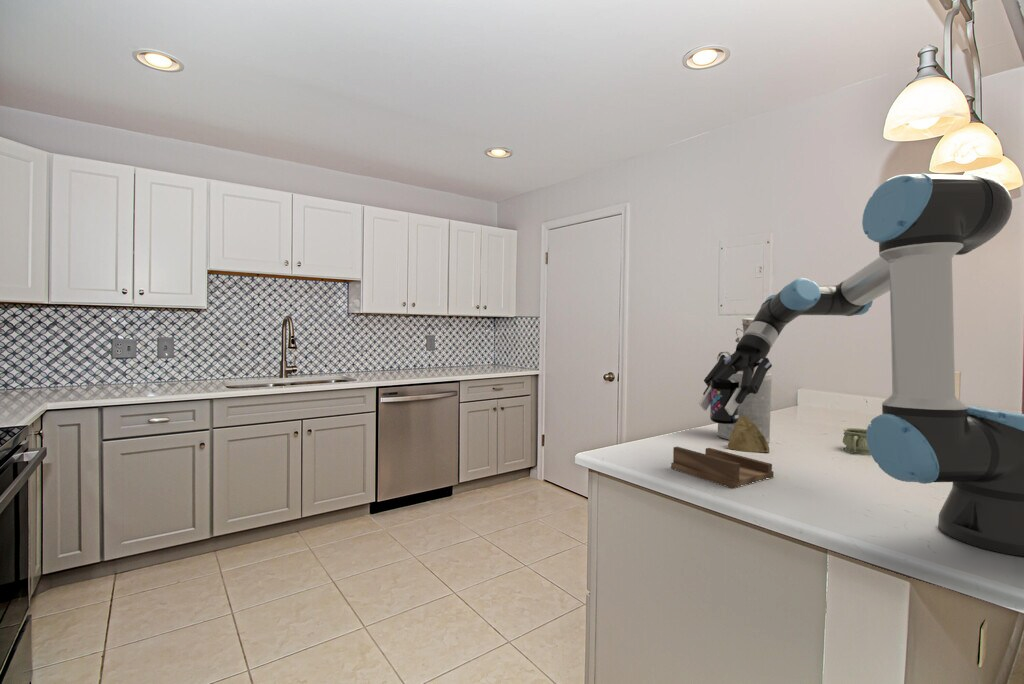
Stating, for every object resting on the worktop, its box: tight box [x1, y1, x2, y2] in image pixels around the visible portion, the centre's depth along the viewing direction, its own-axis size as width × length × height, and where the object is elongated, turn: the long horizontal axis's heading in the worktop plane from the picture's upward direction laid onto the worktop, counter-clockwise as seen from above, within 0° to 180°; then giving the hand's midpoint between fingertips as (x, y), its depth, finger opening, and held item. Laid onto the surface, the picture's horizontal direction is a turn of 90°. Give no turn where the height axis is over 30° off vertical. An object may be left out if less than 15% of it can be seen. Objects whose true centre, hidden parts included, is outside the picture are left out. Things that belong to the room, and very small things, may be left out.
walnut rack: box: [670, 446, 775, 489], centre depth 126 cm, size 16×18×6 cm
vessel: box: [842, 427, 871, 456], centre depth 148 cm, size 12×9×6 cm
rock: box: [726, 416, 771, 453], centre depth 148 cm, size 11×9×10 cm
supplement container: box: [709, 379, 740, 424], centre depth 126 cm, size 7×7×10 cm
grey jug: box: [716, 317, 773, 444], centre depth 162 cm, size 13×17×40 cm
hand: (715, 409), depth 124 cm, fingers closed on supplement container, 7 cm apart
